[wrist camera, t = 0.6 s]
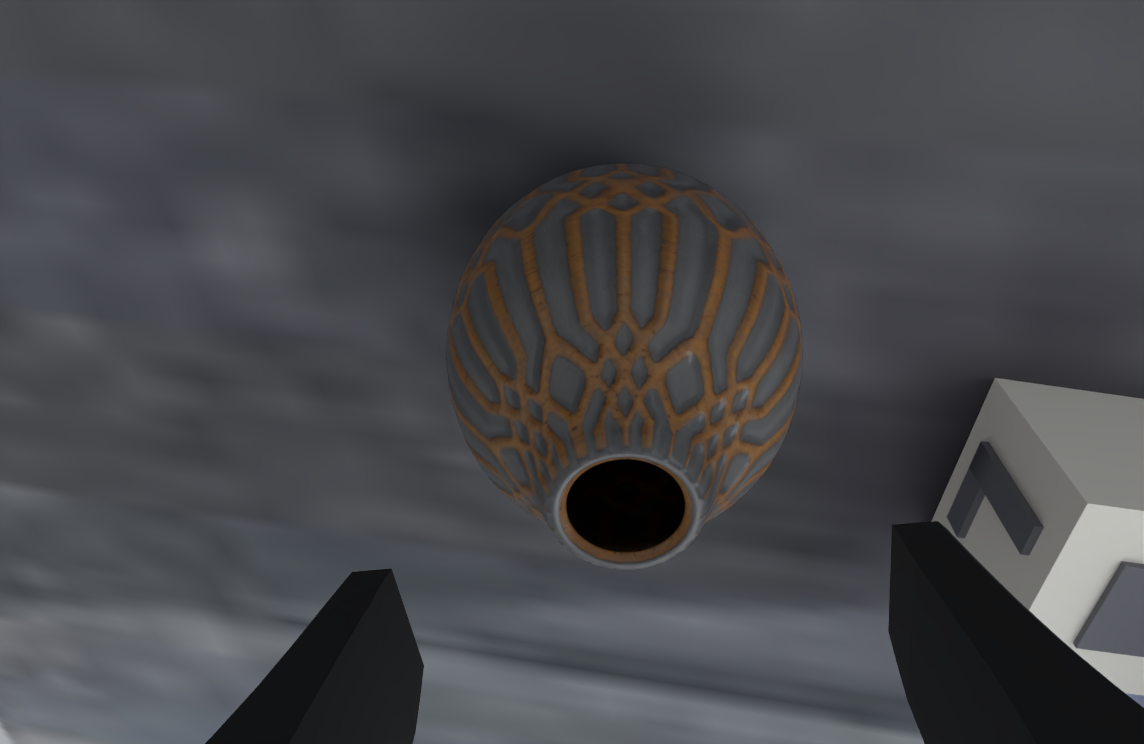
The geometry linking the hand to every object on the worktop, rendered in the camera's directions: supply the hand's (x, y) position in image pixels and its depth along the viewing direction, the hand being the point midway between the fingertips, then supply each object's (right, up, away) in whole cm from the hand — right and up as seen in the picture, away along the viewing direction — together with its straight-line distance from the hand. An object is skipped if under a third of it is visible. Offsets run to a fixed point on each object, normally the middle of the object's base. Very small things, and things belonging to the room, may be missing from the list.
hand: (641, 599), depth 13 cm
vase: (0, +6, +8) cm, 10 cm away
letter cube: (+12, +1, +10) cm, 15 cm away
